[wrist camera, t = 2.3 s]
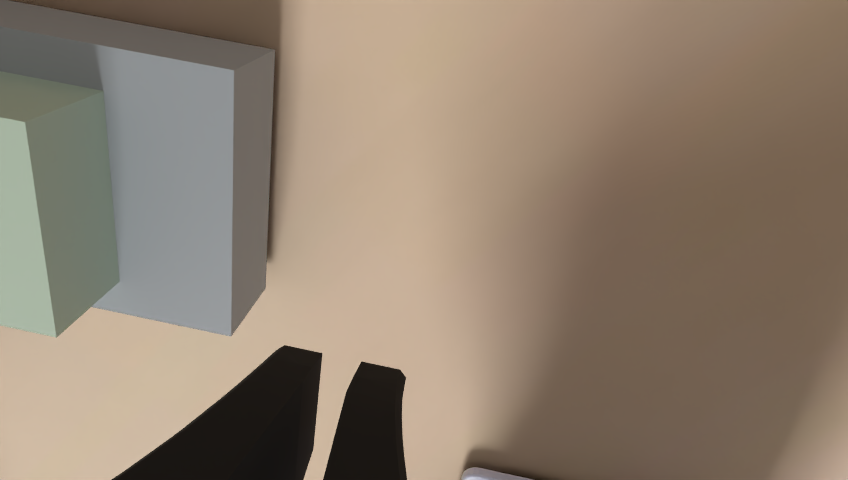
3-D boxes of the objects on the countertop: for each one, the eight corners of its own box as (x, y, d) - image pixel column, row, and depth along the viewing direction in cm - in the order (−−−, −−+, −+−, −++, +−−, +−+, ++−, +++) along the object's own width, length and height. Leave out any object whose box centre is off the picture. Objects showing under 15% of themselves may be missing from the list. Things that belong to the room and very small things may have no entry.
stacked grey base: (281, 46, 16) (177, 99, 11) (271, 279, 19) (186, 399, 14) (-86, -22, 17) (-338, 0, 12) (-37, 216, 20) (-219, 310, 15)
